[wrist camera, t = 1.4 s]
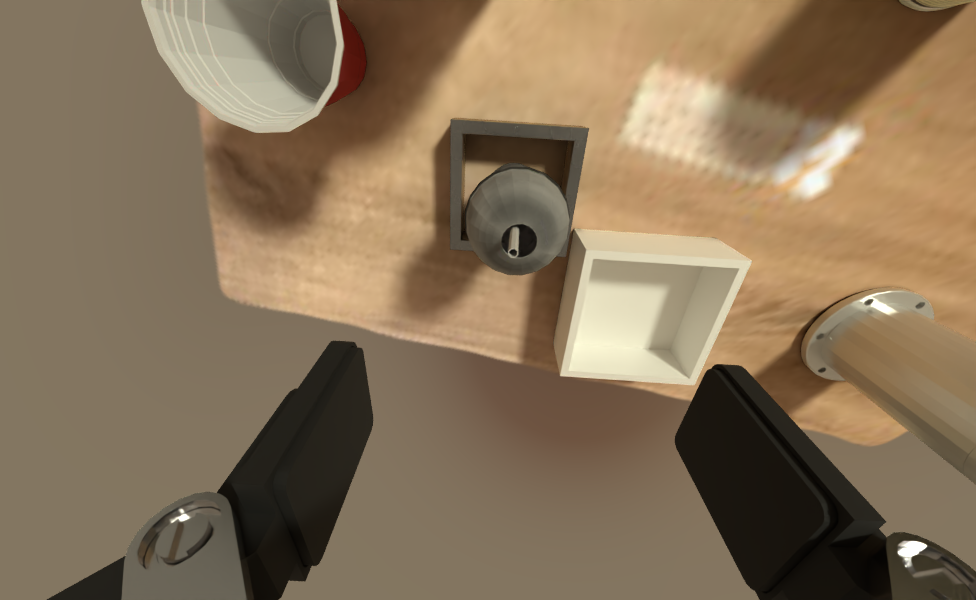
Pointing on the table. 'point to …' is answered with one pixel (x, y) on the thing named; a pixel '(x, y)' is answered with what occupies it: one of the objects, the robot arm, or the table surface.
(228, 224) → the table surface
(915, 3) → the coffee can
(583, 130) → the holder
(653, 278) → the bin
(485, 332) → the table surface
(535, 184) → the beverage cup
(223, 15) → the plastic cup
